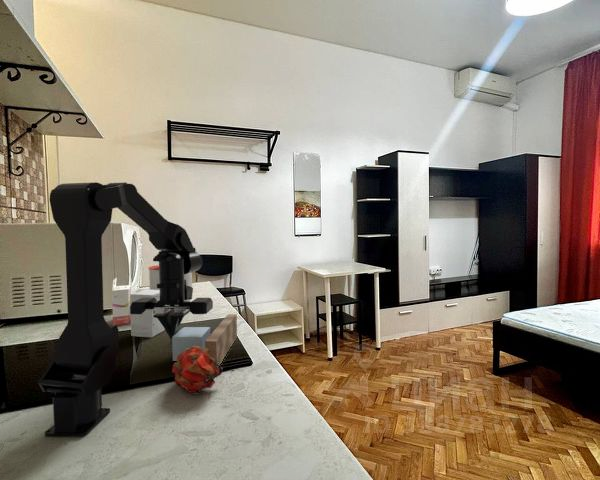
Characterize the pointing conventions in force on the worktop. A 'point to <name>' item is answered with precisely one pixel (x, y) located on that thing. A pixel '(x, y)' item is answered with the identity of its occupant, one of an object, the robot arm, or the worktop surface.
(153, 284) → the citrus juicer
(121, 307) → the ink cartridge box
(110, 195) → the robot arm
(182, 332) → the slate block
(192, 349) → the dragon fruit
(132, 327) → the supplement box
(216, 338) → the walnut board
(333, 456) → the worktop surface
